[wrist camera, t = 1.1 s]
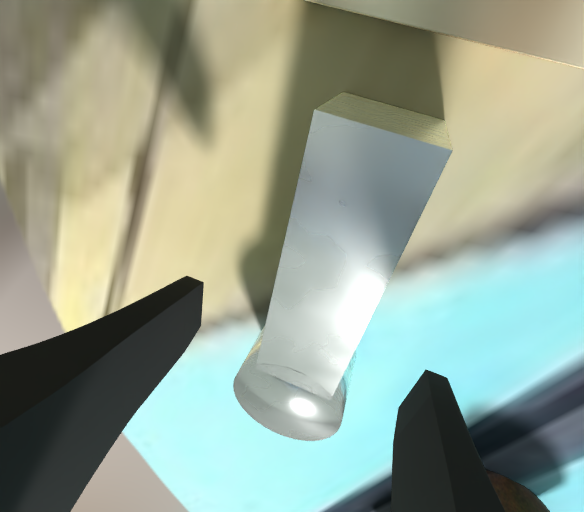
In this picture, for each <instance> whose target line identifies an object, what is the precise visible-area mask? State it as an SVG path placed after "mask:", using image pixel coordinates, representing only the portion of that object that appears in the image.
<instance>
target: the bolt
mask: <svg viewBox="0 0 584 512" xmlns="http://www.w3.org/2000/svg"><path fill="white" fill-rule="evenodd" d="M486 472H487V474H488V476H489V479H490V481H491V483H492V485H493V487H494V489H495V491H496V493H497V495H498V497H499V499H500V501H501V503H502V506H503V508H504V510H505V512H550V511H549V510H548V508H547V507H546V506H545V505H544V504H543V502H542V501H541V500H540V499H539V498H538V497H537V496H536V495H535V494H533V493H532V492H531V491H530V490H529V489H527V488H526V487H525V486H523V485H521V484H519V483H516V482H514V481H512V480H510V479H508V478H507V477H504V476H502V475H500V474H497V473H494V472H491V471H488V470H486Z"/></svg>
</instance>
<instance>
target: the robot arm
mask: <svg viewBox="0 0 584 512" xmlns="http://www.w3.org/2000/svg"><path fill="white" fill-rule="evenodd" d="M203 285H204V282H201V281H199V280H196V279H194V278H191V277H189V276H185V277H183V278H181V279H179V280H177V281H175V282H173V283H171V284H170V285H168V286H166V287H164V288H162V289H160V290H158V291H156V292H154V293H152V294H150V295H148V296H146V297H144V298H142V299H140V300H138V301H136V302H134V303H132V304H130V305H128V306H126V307H124V308H122V309H120V310H118V311H116V312H114V313H111V314H109V315H107V316H105V317H102V318H100V319H98V320H96V321H93V322H91V323H89V324H87V325H84V326H82V327H79V328H77V329H74V330H72V331H69V332H67V333H64V334H62V335H59V336H56V337H53V338H51V339H48V340H46V341H42V342H40V343H37V344H34V345H31V346H28V347H24V348H21V349H18V350H14V351H11V352H8V353H5V354H2V355H0V512H70V511H71V509H72V508H73V506H74V505H75V503H76V502H77V500H78V498H79V497H80V495H81V493H82V492H83V490H84V489H85V487H86V485H87V484H88V482H89V481H90V479H91V478H92V476H93V474H94V473H95V471H96V470H97V468H98V467H99V465H100V464H101V462H102V461H103V459H104V458H105V456H106V454H107V453H108V451H109V450H110V448H111V447H112V445H113V444H114V442H115V441H116V440H117V438H118V436H119V435H120V434H121V432H122V431H123V429H124V428H125V426H126V425H127V423H128V422H129V421H130V419H131V418H132V417H133V415H134V414H135V413H136V411H137V410H138V409H139V407H140V406H141V405H142V404H143V403H144V401H145V400H146V399H147V398H148V396H149V395H150V394H151V393H152V391H153V390H154V389H155V388H156V387H157V385H158V384H159V383H160V382H161V380H162V379H163V378H164V377H165V376H166V374H167V373H168V372H169V371H170V369H171V368H172V367H173V366H174V364H175V363H176V362H177V361H178V359H179V358H180V357H181V356H182V354H183V353H184V352H185V350H186V349H187V347H188V346H189V344H190V342H191V341H192V339H193V338H194V336H195V334H196V333H197V331H198V330H199V328H200V326H201V316H202V300H203ZM391 512H505V510H504V508H503V506H502V503H501V501H500V499H499V497H498V495H497V493H496V491H495V489H494V487H493V485H492V483H491V481H490V479H489V476H488V474H487V472H486V470H485V468H484V465H483V463H482V461H481V459H480V456H479V454H478V452H477V450H476V447H475V445H474V443H473V440H472V438H471V436H470V433H469V431H468V428H467V426H466V424H465V421H464V419H463V416H462V414H461V411H460V409H459V406H458V404H457V401H456V399H455V396H454V393H453V391H452V388H451V386H450V383H449V381H448V379H447V378H446V377H444V376H441V375H439V374H436V373H434V372H431V371H428V370H425V372H424V373H423V374H422V376H421V377H420V378H419V380H418V381H417V383H416V384H415V385H414V387H413V388H412V390H411V391H410V392H409V394H408V395H407V397H406V398H405V399H404V401H403V402H402V404H401V405H400V406H399V409H398V415H397V421H396V427H395V434H394V441H393V463H392V492H391Z"/></svg>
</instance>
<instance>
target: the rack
mask: <svg viewBox="0 0 584 512" xmlns="http://www.w3.org/2000/svg"><path fill="white" fill-rule="evenodd" d="M305 1H309V2H313V3H317V4H321V5H325V6H329V7H333V8H337V9H341V10H345V11H349V12H353V13H358V14H362V15H366V16H370V17H374V18H378V19H382V20H386V21H390V22H394V23H398V24H402V25H406V26H410V27H415V28H419V29H423V30H427V31H431V32H435V33H439V34H443V35H447V36H451V37H455V38H459V39H463V40H467V41H472V42H476V43H480V44H484V45H488V46H492V47H496V48H500V49H504V50H508V51H512V52H516V53H520V54H524V55H529V56H533V57H537V58H541V59H545V60H549V61H553V62H557V63H561V64H565V65H569V66H573V67H577V68H581V69H584V0H305Z"/></svg>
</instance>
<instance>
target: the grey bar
mask: <svg viewBox="0 0 584 512" xmlns="http://www.w3.org/2000/svg"><path fill="white" fill-rule="evenodd" d="M451 153H452V146H451V142H450V139H449V135H448V131H447V127H446V123H445V120H441V119H438V118H434V117H431V116H427V115H424V114H420V113H417V112H413V111H410V110H406V109H403V108H399V107H396V106H392V105H388V104H385V103H381V102H378V101H374V100H371V99H367V98H364V97H360V96H357V95H353V94H350V93H346V92H342V93H340V94H339V95H337V96H336V97H334V98H332V99H331V100H329V101H327V102H326V103H324V104H322V105H321V106H319V107H317V108H316V109H314V113H313V117H312V122H311V126H310V130H309V135H308V139H307V144H306V148H305V152H304V157H303V161H302V166H301V170H300V174H299V179H298V183H297V188H296V192H295V196H294V201H293V205H292V210H291V214H290V218H289V223H288V227H287V232H286V236H285V240H284V245H283V249H282V254H281V258H280V262H279V267H278V271H277V276H276V280H275V284H274V289H273V293H272V297H271V302H270V306H269V311H268V315H267V319H266V324H265V326H264V327H263V329H262V331H261V333H260V334H259V336H258V338H257V340H256V341H255V343H254V345H253V347H252V349H251V350H250V352H249V354H248V356H247V357H246V359H245V361H244V363H243V364H242V366H241V368H240V370H239V372H238V373H237V375H236V377H235V379H234V386H233V387H234V392H235V396H236V398H237V400H238V402H239V403H240V405H241V406H242V408H243V409H244V410H245V411H246V412H247V413H248V414H249V415H250V416H251V417H252V418H253V419H254V420H256V421H257V422H258V423H260V424H261V425H263V426H264V427H266V428H268V429H270V430H272V431H274V432H276V433H278V434H280V435H283V436H286V437H289V438H293V439H298V440H305V441H316V440H322V439H326V438H328V437H330V436H332V435H334V434H335V433H336V432H337V431H338V429H339V428H340V425H341V422H342V417H343V413H344V408H345V403H346V399H347V394H348V390H349V385H350V381H351V376H352V371H353V367H354V362H355V357H356V347H357V345H358V343H359V341H360V339H361V337H362V335H363V333H364V331H365V329H366V327H367V325H368V323H369V321H370V319H371V317H372V315H373V312H374V310H375V308H376V306H377V304H378V302H379V300H380V298H381V296H382V294H383V292H384V290H385V288H386V286H387V284H388V282H389V280H390V278H391V276H392V274H393V271H394V269H395V267H396V265H397V263H398V261H399V259H400V257H401V255H402V253H403V251H404V249H405V247H406V245H407V243H408V241H409V239H410V237H411V235H412V233H413V230H414V228H415V226H416V224H417V222H418V220H419V218H420V216H421V214H422V212H423V210H424V208H425V206H426V204H427V202H428V200H429V198H430V196H431V194H432V192H433V189H434V187H435V185H436V183H437V181H438V179H439V177H440V175H441V173H442V171H443V169H444V167H445V165H446V163H447V161H448V159H449V157H450V155H451Z"/></svg>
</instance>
